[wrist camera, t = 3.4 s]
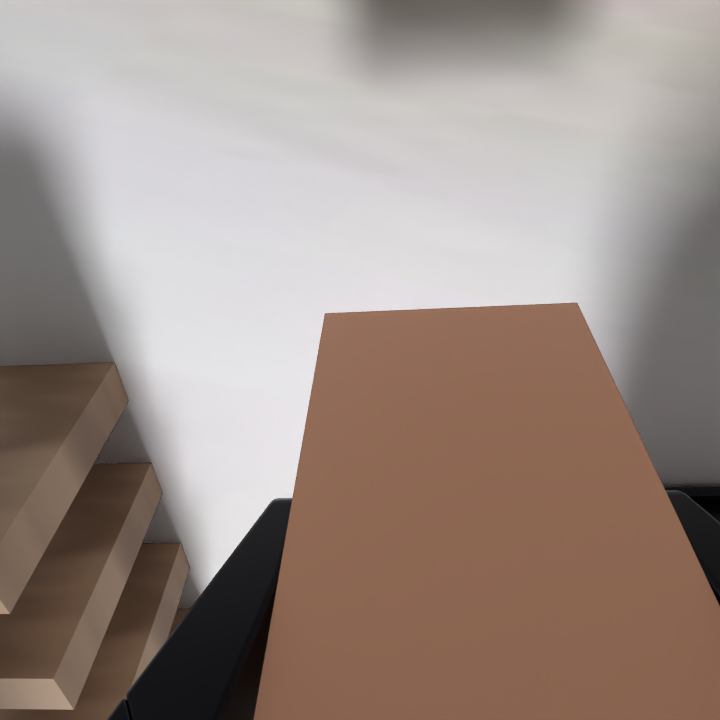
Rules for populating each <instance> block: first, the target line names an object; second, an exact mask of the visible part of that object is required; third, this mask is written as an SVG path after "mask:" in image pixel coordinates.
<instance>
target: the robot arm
mask: <svg viewBox="0 0 720 720" xmlns="http://www.w3.org/2000/svg"><path fill="white" fill-rule="evenodd" d="M664 489H665V491H666V493H667V495H668V497H669V499H670V501H671V504H672V506H673V508H674V510H675V512H676V514H677V516H678V518H679V521H680V523H681V525H682V527H683V529H684V531H685V533H686V535H687V538H688V540H689V542H690V544H691V546H692V548H693V550H694V552H695V555H696V557H697V559H698V561H699V563H700V565H701V567H702V569H703V572H704V574H705V576H706V578H707V580H708V582H709V584H710V587H711V589H712V591H713V593H714V595H715V597H716V599H717V601H718V604H719V606H720V487H701V488H664ZM291 504H292V498H277V499H274V500H273V501H272V502H271V503H270V504H269V505H268V507H267V508H266V509H265V511H264V512H263V513H262V515H261V516H260V517H259V518H258V520H257V521H256V522H255V524H254V525H253V526H252V528H251V529H250V530H249V532H248V533H247V534H246V536H245V537H244V538H243V540H242V541H241V542H240V544H239V545H238V546H237V548H236V549H235V550H234V552H233V553H232V554H231V556H230V557H229V558H228V560H227V561H226V562H225V564H224V565H223V566H222V567H221V569H220V570H219V571H218V573H217V574H216V575H215V577H214V578H213V579H212V581H211V582H210V583H209V585H208V586H207V587H206V589H205V590H204V591H203V593H202V594H201V595H200V597H199V598H198V599H197V601H196V602H195V603H194V605H193V606H192V607H191V609H190V610H189V611H188V613H187V614H186V615H185V616H184V618H183V619H182V620H181V622H180V623H179V624H178V626H177V627H176V628H175V630H174V631H173V632H172V634H171V635H170V636H169V638H168V639H167V640H166V642H165V643H164V644H163V646H162V647H161V648H160V650H159V651H158V652H157V654H156V655H155V656H154V658H153V659H152V660H151V662H150V663H149V664H148V666H147V667H146V668H145V669H144V671H143V672H142V673H141V675H140V676H139V677H138V679H137V680H136V681H135V683H134V684H133V685H132V687H131V688H130V689H129V691H128V692H127V693H126V699H127V700H126V699H122V700H121V701H120V702H119V703H118V705H117V706H116V707H115V709H114V710H113V711H112V713H111V714H110V715H109V717H108V718H107V719H106V720H254V714H255V709H256V703H257V697H258V692H259V686H260V680H261V675H262V669H263V663H264V658H265V652H266V646H267V641H268V635H269V629H270V623H271V618H272V612H273V606H274V601H275V595H276V589H277V584H278V578H279V572H280V567H281V561H282V555H283V550H284V544H285V538H286V532H287V527H288V521H289V515H290V510H291Z"/></svg>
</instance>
